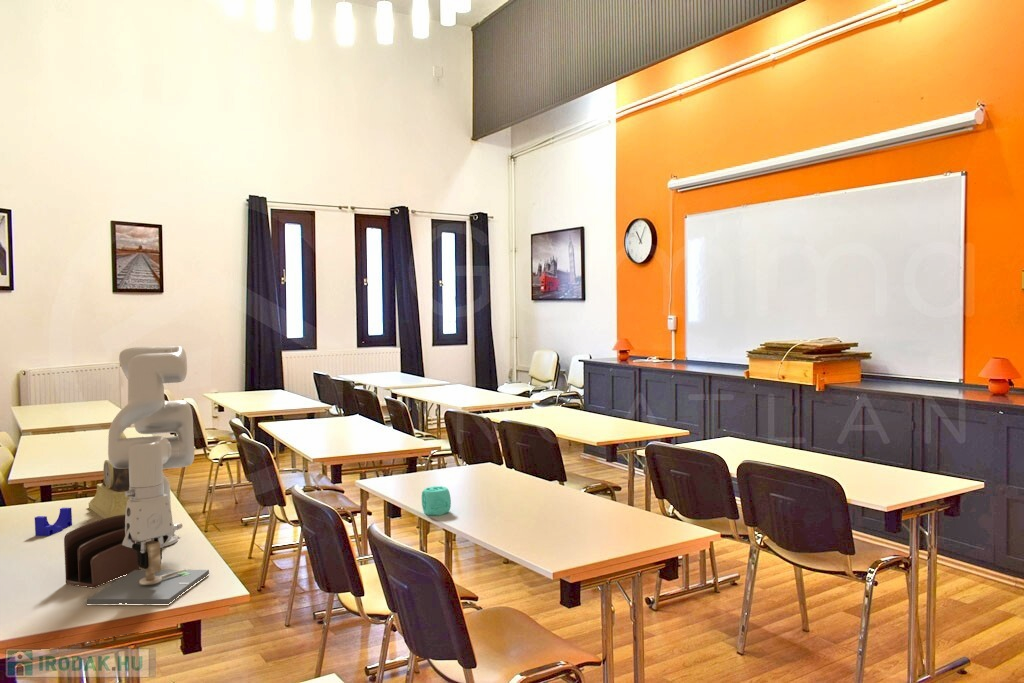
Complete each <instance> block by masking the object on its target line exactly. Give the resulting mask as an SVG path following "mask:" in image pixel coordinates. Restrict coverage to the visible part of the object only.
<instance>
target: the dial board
mask: <svg viewBox="0 0 1024 683" xmlns="http://www.w3.org/2000/svg"><path fill="white" fill-rule="evenodd" d="M178 570H179V569H161V571H158V572H155V576H161V575H165V574H168V573H171V572H175V571H178ZM208 574H209V575H210V570H209V569H186V571H185V572H182V573H179V574H176V575H172V576H169V577H166V578H163V579H162V581H161V582H159V583H156V584H153V585H140V584H139V580H141V579H142V578H145V577H146V571H144V570H134V571H132V572H131V573H129V574H127V575H126V576H123V577H121V578H118V579H116V580H115V581H114V582H112V583H111V584H109V585H107V586H105V587H104V588H102V589H101V590H98V592H95V593H94V594H93V595H91V596H89V597H87V598H86V599H85V600H86V605H87V604H119V603H122V604H125V603H127V604H169V603H170V602H172V601H173V600H174V599H176V598H177V597H178V596H179V595H181V594H182V593H183V592H185V591H186V590H187V589H189V588H190V587H191V586H193V585H194V584H195V583H197V582H198V581H200V580H201V579H203V578H204V577H206V576H207V575H208ZM206 578H207V577H206Z"/></svg>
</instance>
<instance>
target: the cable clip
mask: <svg viewBox="0 0 1024 683" xmlns="http://www.w3.org/2000/svg"><path fill="white" fill-rule="evenodd" d="M72 516H73V514H72V507H61V508H59V513H58V518H57V519H56V521H55V522H54V523H53V524H50V523H49V521H48V517H47V516H46V515H45V516H43V515H38V516H34V532H35V534H34V535H35V536H36V537H50V536H51V535H54V534H57V533H60V532H62V531H63V529H66V528H68V527H69V528H70V527H71V526H73V519H72V518H73V517H72Z"/></svg>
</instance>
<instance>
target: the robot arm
mask: <svg viewBox="0 0 1024 683" xmlns="http://www.w3.org/2000/svg"><path fill="white" fill-rule="evenodd" d="M118 357H119V358H118V360H119V365H120V368H121V370H122V372H123V373H124V374H123V375H124V376H125V378H126V379H127V404H126V405H125V406H124V407H123V408H122V409H120V411H119V412H118V413H117V414H116V415H115V417H114V418H113V420H112V421H111V424H110V426H109V429H108V439H107V440H108V441H107V442H108V443H107V457H108V460H109V462H110V464H111V465H112V466H113V467H114V468H118V469H123V468H129V483H130V487H129V491H126V492H125V496H126V497H129V498H130V499H129V500H128V502H127V507H126V515H125V538H124V540H123V543H122V545H123V546H126V547H130V548H132V549H134V550H135V551H136V552H137V557H138V565H139V567H140V568H144V569H147V568H148V567H149V565H148V553H147V552H146V541H147V540H150V539H153V540H154V541H157V542H160V555H161V560H162V559H163V555H162V554H163V549H162V548H164V547H168V546H171V545H173V544H175V543H177V542H178V539H179V537H178V536H179V535H177V534H175V532H176V531H178V530H181V529H182V528H183V523H182V522H178V523H177V522H176V523H174V522H173V514H172V505H171V502H172V501H171V498H172V497H171V484H170V481H169V479H168V478H167V476H165V474H164V470H166V469H167V470H168V469H177V468H185V467H189V466H191V465H192V464H193V462H194V461H195V436H194V418H193V410H192V407H191V405H190V403H189V402H188V401H186V400H179V399H178V400H166V399H165V387H164V384H174V383H176V384H177V383H182V382H183V381H185V380H186V377H187V373H188V361H187V360H188V357H187V354H186V351H185V349H184V348H183V347H182V346H179V345H160V346H158V345H157V346H153V345H152V346H135V347H133V346H132V347H129V348H125V349H122V351H121V352H120V353H119V354H118ZM131 425H134V429H135V431H136V432H137V433H138V434H142V435H152V436H138V437H137V436H136V437H126V438H124V439H121V434H122V432H123V433H124V431H125V430H127V428H128V427H130V426H131ZM169 433H171V434H172V433H175V434H176V435H174V436H173V435H171V436H163V435H162V436H161V435H157V434H169ZM153 435H154V436H153ZM131 540H134V541H135V543H133V542H131Z"/></svg>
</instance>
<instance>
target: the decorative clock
mask: <svg viewBox="0 0 1024 683" xmlns="http://www.w3.org/2000/svg"><path fill="white" fill-rule="evenodd" d="M124 438H127V436H126V435H125V433H124V431H123V432H122V434H121V439H124ZM102 470H103V480H102V482H101V483H97V484H96V492H95V495H94V497H93V498H92V499H91V500H90V501H89V502H88V508H89V509H90V510H91V511H93V512H94V513H95V514H96V515H98V516H99V517H100V518H101V519H105V518H109V517H113V516H119V515H126V507H127V502H128V500H129V499H130V498H129V497H126V496H125V492H126V491H129V487H130V483H129V468H123V469H118V468H114V467H113V466H112V465H111V464H110V462H109V459H107V460H104V462H103V469H102Z"/></svg>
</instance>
